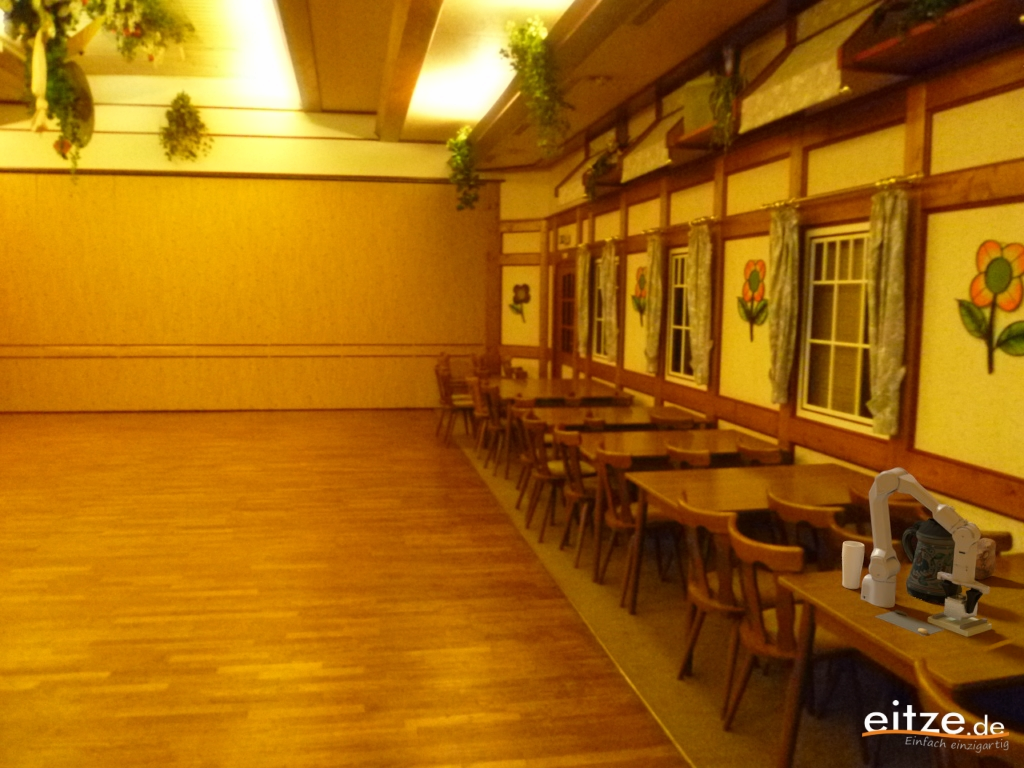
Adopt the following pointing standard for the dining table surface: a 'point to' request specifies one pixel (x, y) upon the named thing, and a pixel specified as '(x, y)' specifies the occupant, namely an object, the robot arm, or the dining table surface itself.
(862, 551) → the drinking glass
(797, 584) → the dining table surface
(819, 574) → the dining table surface
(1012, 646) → the dining table surface
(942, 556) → the beer stein
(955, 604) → the housing
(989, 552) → the rough brown rock
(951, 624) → the stand
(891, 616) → the mat
